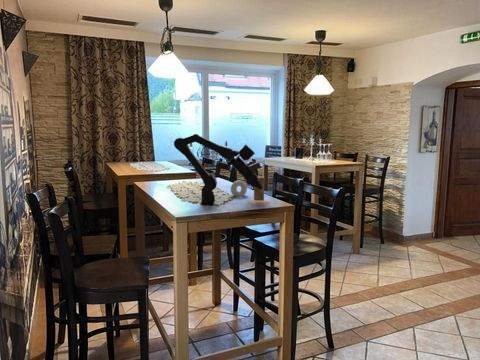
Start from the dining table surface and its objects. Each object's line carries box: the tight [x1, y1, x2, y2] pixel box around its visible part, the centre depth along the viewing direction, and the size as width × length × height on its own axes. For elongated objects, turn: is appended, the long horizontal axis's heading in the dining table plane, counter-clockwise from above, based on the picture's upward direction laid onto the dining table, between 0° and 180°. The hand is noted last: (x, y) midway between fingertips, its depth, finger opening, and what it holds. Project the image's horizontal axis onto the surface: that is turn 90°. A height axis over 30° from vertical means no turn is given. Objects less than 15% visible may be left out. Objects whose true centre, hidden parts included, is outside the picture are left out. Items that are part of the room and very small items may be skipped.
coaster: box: [247, 199, 271, 206], centre depth 204 cm, size 12×12×1 cm
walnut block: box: [253, 175, 265, 201], centre depth 203 cm, size 5×5×12 cm
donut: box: [230, 180, 248, 197], centre depth 221 cm, size 10×4×10 cm, turn 115°
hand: (261, 188), depth 203 cm, fingers closed on walnut block, 5 cm apart
